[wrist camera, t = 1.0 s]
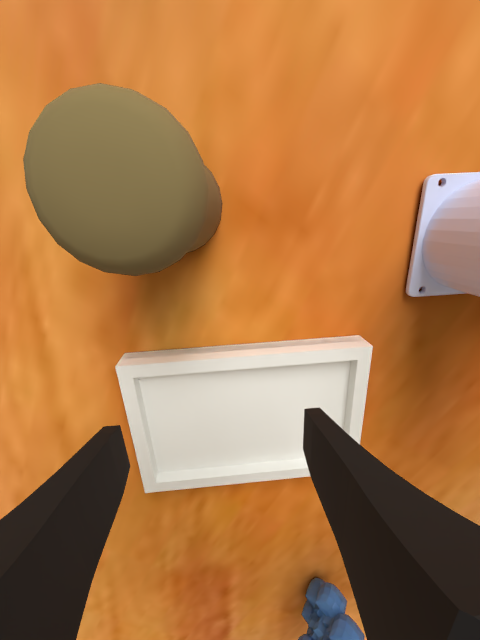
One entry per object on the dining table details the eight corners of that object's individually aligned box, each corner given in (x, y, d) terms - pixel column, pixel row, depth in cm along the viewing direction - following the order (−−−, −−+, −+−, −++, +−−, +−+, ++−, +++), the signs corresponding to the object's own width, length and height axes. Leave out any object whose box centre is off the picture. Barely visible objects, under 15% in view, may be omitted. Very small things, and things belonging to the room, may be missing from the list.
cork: (170, 272, 19) (107, 338, 8) (103, 193, 17) (-83, 157, 7) (241, 214, 18) (267, 211, 7) (178, 125, 16) (97, -46, 6)
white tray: (359, 335, 21) (372, 346, 20) (346, 453, 26) (356, 471, 24) (124, 353, 21) (115, 366, 19) (150, 472, 25) (145, 492, 23)
